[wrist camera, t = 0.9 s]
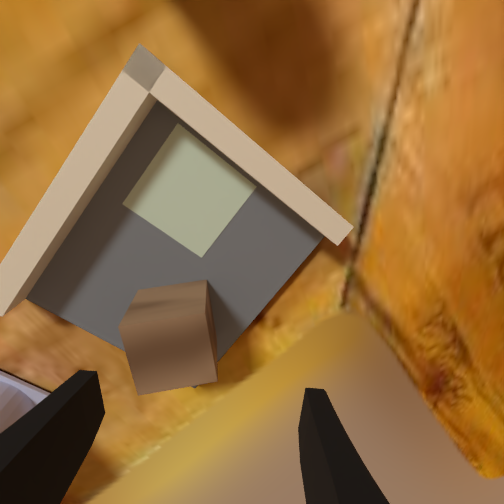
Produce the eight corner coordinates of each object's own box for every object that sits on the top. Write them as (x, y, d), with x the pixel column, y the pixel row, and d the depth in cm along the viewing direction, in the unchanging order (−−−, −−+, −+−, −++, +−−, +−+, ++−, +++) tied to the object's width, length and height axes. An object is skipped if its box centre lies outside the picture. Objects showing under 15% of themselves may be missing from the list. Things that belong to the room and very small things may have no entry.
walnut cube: (216, 336, 24) (217, 381, 20) (153, 347, 24) (138, 395, 19) (206, 279, 23) (204, 312, 18) (138, 289, 22) (118, 326, 18)
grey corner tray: (195, 381, 26) (193, 412, 23) (9, 281, 22) (-25, 303, 19) (334, 217, 23) (353, 227, 20) (151, 61, 19) (139, 43, 16)
